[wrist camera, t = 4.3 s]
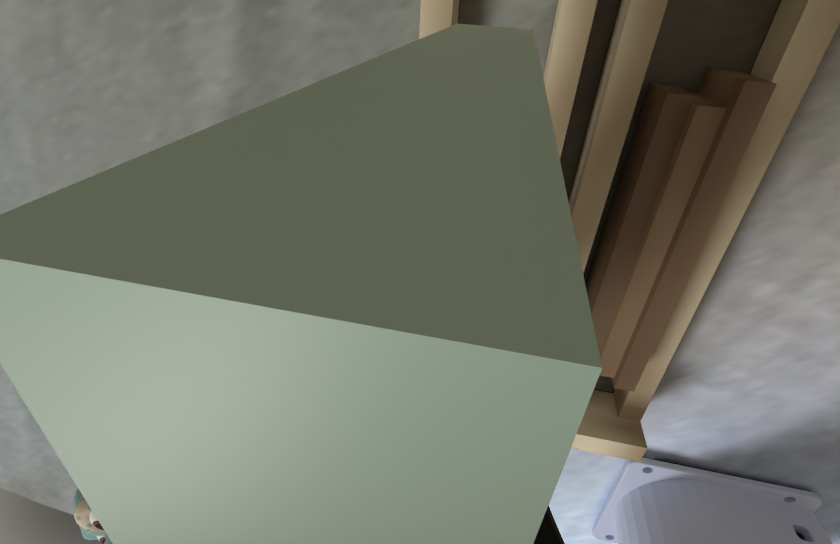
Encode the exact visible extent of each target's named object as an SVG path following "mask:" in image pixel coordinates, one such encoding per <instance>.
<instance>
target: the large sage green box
mask: <svg viewBox="0 0 840 544" xmlns="http://www.w3.org/2000/svg"><path fill="white" fill-rule="evenodd" d="M0 364H1V365H2V367H3V369H4V370H5V372H6V373H7V375H8V377H9V378H10V380H11V381H12V383H13V385H14V386H15V388H16V389H17V391H18V393H19V394H20V396H21V397H22V399H23V401H24V402H25V404H26V405H27V407H28V409H29V410H30V412H31V413H32V415H33V417H34V418H35V420H36V421H37V423H38V425H39V426H40V428H41V429H42V431H43V433H44V434H45V436H46V438H47V439H48V441H49V442H50V444H51V446H52V447H53V449H54V450H55V452H56V454H57V455H58V457H59V458H60V460H61V462H62V463H63V465H64V466H65V468H66V470H67V471H68V473H69V474H70V476H71V478H72V479H73V481H74V482H75V484H76V486H77V487H78V489H79V490H80V492H81V494H82V495H83V497H84V498H85V500H86V502H87V503H88V505H89V507H90V508H91V510H92V511H93V513H94V515H95V516H96V518H97V519H98V521H99V523H100V524H101V526H102V527H103V529H104V531H105V532H106V534H107V535H108V537H109V539H110V540H111V542H112V543H113V544H533V543H534V541H535V538H536V535H537V533H538V530H539V528H540V525H541V523H542V520H543V518H544V515H545V513H546V510H547V507H548V505H549V502H550V500H551V497H552V495H553V492H554V490H555V487H556V485H557V482H558V479H559V477H560V474H561V472H562V469H563V467H564V464H565V462H566V459H567V457H568V454H569V451H570V449H571V446H572V444H573V441H574V439H575V436H576V434H577V431H578V429H579V426H580V423H581V421H582V418H583V416H584V413H585V411H586V408H587V406H588V403H589V401H590V398H591V396H592V393H593V390H594V388H595V385H596V383H597V380H598V378H599V375H600V373H601V370H602V364H601V359H600V354H599V349H598V344H597V339H596V335H595V330H594V325H593V320H592V315H591V310H590V305H589V300H588V295H587V290H586V286H585V281H584V276H583V271H582V266H581V261H580V256H579V251H578V246H577V241H576V237H575V232H574V227H573V222H572V217H571V212H570V207H569V202H568V197H567V192H566V188H565V183H564V178H563V173H562V168H561V163H560V158H559V153H558V148H557V143H556V139H555V134H554V129H553V124H552V119H551V114H550V109H549V104H548V99H547V95H546V90H545V85H544V80H543V75H542V70H541V65H540V60H539V55H538V50H537V46H536V41H535V36H534V31H533V30H529V29H517V28H505V27H492V26H480V25H468V24H455V25H452V26H450V27H448V28H445V29H443V30H440V31H438V32H436V33H433V34H431V35H428V36H426V37H424V38H421V39H419V40H417V41H414V42H412V43H409V44H407V45H405V46H402V47H400V48H397V49H395V50H393V51H390V52H388V53H385V54H383V55H381V56H378V57H376V58H374V59H371V60H369V61H366V62H364V63H362V64H359V65H357V66H354V67H352V68H350V69H347V70H345V71H342V72H340V73H338V74H335V75H333V76H331V77H328V78H326V79H323V80H321V81H319V82H316V83H314V84H311V85H309V86H307V87H304V88H302V89H299V90H297V91H295V92H292V93H290V94H288V95H285V96H283V97H280V98H278V99H276V100H273V101H271V102H268V103H266V104H264V105H261V106H259V107H256V108H254V109H252V110H249V111H247V112H245V113H242V114H240V115H237V116H235V117H233V118H230V119H228V120H225V121H223V122H221V123H218V124H216V125H214V126H211V127H209V128H206V129H204V130H202V131H199V132H197V133H194V134H192V135H190V136H187V137H185V138H182V139H180V140H178V141H175V142H173V143H171V144H168V145H166V146H163V147H161V148H159V149H156V150H154V151H151V152H149V153H147V154H144V155H142V156H139V157H137V158H135V159H132V160H130V161H128V162H125V163H123V164H120V165H118V166H116V167H113V168H111V169H108V170H106V171H104V172H101V173H99V174H96V175H94V176H92V177H89V178H87V179H85V180H82V181H80V182H77V183H75V184H73V185H70V186H68V187H65V188H63V189H61V190H58V191H56V192H53V193H51V194H49V195H46V196H44V197H42V198H39V199H37V200H34V201H32V202H30V203H27V204H25V205H22V206H20V207H18V208H15V209H13V210H10V211H8V212H6V213H3V214H1V215H0Z"/></svg>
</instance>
